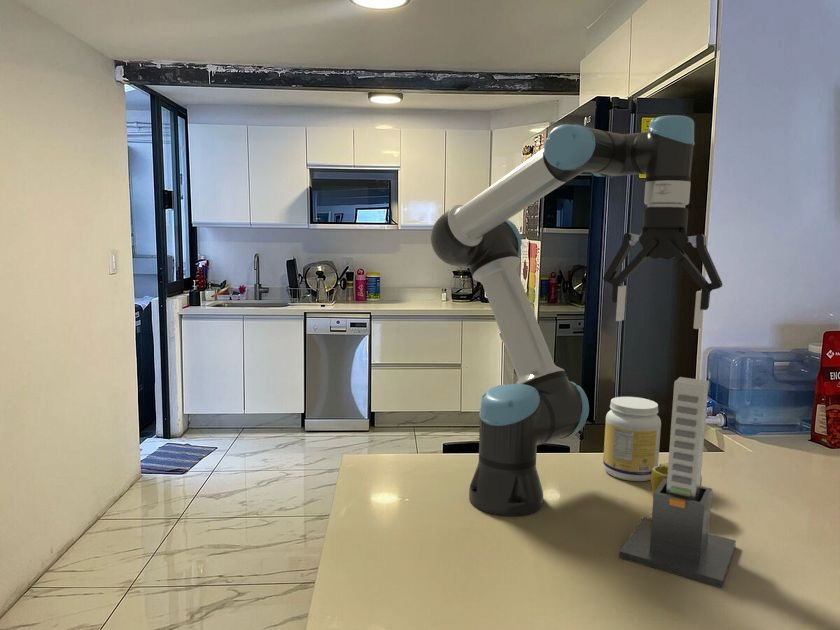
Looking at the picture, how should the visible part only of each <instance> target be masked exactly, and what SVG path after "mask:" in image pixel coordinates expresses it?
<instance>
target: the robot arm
mask: <svg viewBox="0 0 840 630" xmlns="http://www.w3.org/2000/svg"><path fill="white" fill-rule="evenodd" d="M648 126H649V127H648V130H647V131H642V132H635V133H617V132H612V131H605V130H602V129H601V130H600V129H596V128H592V127H589V126H584V125H582V124H581V125H580V124H577V123H576V124H566V123H565V124H560V125H557V126H556V127H554V128H553V129H552V130H550V132H549V135H548V137H546V139H545V142H544V147H543V148H542V149H541V150H538V152H537V153H535V154H533V155H532V156H531V157H530V158H528V159H527V160H525V161H524V162H522V163H521V164H520V165H518V166H517V167H515V168H514V169H513V170H511V171H510V172H508V173H507V174H505V175H504V176H502V177H501V178H500V179H499V180H497V181H495V183H493V184H492V185H490V186H489V187H487V188H486V189H485V190H483V191H482V192H480V193H479V194H478V195H475V197H472V199H470V200H469V201H467V202H466V203H465V204H456V205H453V207H451V208H450V209H448V210H446V211H445V212H444V213H443V214H441V215H440V217H438V219H437V220H436V222H435V223H434V225H433V227H432V228H431V229H432V230H431V234H430V243H431V247H432V250H433V252H434V254H435V255H436V256H437V257H438V259H440V260H441V261H442V262H444V263H445V264H448V265H450V266H454V267H468V268H469V271H470V273H471V276H472V279H473V280H474V281H475V282H479V283H481V284H482V286H483V290H484V293H485V295H486V298H487V300H488V303H489V306H490V308H491V311H492V313H493V316H494V319H495V321H496V323H497V326H498V330H499V331H500V335H501V337H502V339H503V342H504V345H505V347H506V350H507V353H508V356H509V358H510V361H511V363H512V365H513V368H514V371H515V374H516V377H517V381H516V383H511V384H507V383H506V384H505V383H504V384H499V385H495V386H492V387H490V388H489V389H486V390H485V392H484V393H483V394H482V397H481V399H480V408H479V411H478V412H479V413H478V415H479V430H478V431H479V433H478V434H479V439H478V440H479V443H478V463H477V466H476V468H475V471H474V474H473V477H472V479H471V482H470V484H469V489H468V500H469V502H470V503H471V504H472V505H473V506H474V507H475V508H477V509H479V510H481V511H482V512H486V513H489V514H493V515H496V516H497V515H499V516H506V517H507V516H508V517H519V516H526V515H527V516H528V515H530V514H533V513H536V512H538V511H539V510H541V508H542V507H543V505H544V491H543V487H542V483H541V480H540V476H539V473H538V470H537V447H538V446H540V445H543V444H547V443H550V442H553V441H557V440H562V439H566V438H569V437H571V436H573V435H574V434H576V433H578V432H579V431H581V430H582V429H583V427H584V426H585V425H586V423H587V419H588V417H589V412H590V405H589V400H588V397H587V394H586V393H585V390H584V389H583V388H582V386H580V385H578V384H576V382H574V381H570V380H569V378H568V375H567V373H566V370H565V369H564V368H561V367H559V366H557V365H556V364H555V362H554V360H553V357H552V355H551V351H550V350H549V349H550V348H549V347H548V345H547V342H546V340H545V338H544V334H543V332H542V330H541V327H540V324H539V323H538V320H537V316H536V315H535V312H534V310H533V307H532V304H531V303H530V300H529V296H528V295H527V292H526V290H525V287H524V284H523V282H522V280H521V277H520V274H519V272H518V267H519V265H520V263H521V260H520V255H521V253H522V248H521V247H522V244H523V242H522V240H523V239H522V236H521V233H520V230H519V229H518V227H517V226H516V225H515V224H514V222H512V221H511V220H509V219H512V217H514V216H515V215H517V214H520V212H522V211H523V210H525V209H526V208H528V207H529V206H531V205H532V204H534V203H536V202H538V201H539V200H541V199H542V198H543V197H545V196H547V195H548V194H549V193H551V192H553V191H554V190H556V189H558V188H560V187H561V186H563V185H564V184H565V183H568V182H570V180H572V179H574V178H576V177H577V176H578V175H580V174H582V173H591V174H592V175H593V176H595V177H604V178H605V177H607V178H614V177H620V176H621V177H622V176H632V175H645V182H644V183H645V184H644V185H645V187H644V201H643V203H644V205H645V206H646V207H645V208H644V209H643V212H642V215H643V216H642V227H641V232H640V234H635V233H632V232H626V233H624V234H623V236H622V237H623V238H622V243H621V246H620V248H619V250H617V253H616V254H615V256H614V259H612V262H611V263H610V264H609V266H608V269H607V270H606V272H605V273H604V275H603V278H602V280H603V282H607V283H609V284H611V286H612V296H611V301H612V303H616V313H615V322H622V321H625V312H626V311H625V307H626V293H627V285H623V284H624V283H625V281H626V280H627V279H628V278H630V276H631V275H632V274H633V273H634V272H636V270H637V269H638V268H639V267H640V266H642V264H643V263H644V262H645V261H646V260H647V259H648V258H651V259H656V260H657V259H664V260H673V259H676V260H677V261H678V262H679V263H680V264H681V266H682V267H683V268H684V270H685V271H686V272H687V273H688V275H689V276H690V277H691V278H692V280H693V282H695V284H696V285H697V286H698V287H699V289H700V290H697V291H696V292H695V302H694V303H695V305H694V317H693V329H695V330H698V329H700V328H701V327H702V317H703V316H702V315H703V311H706V310H708V309H709V308H710V300H711V299H710V298H711V292H712V291H713V290H717V289H721V288H722V287H723V284H724V283H723V282H722V279H721V278H720V275H719V273H718V270H717V269H716V266H715V263H714V262H713V259H712V257H711V254H710V252H709V251H708V248H707V237H706V235H705V234H697V235H691V236H690V235H689V234H688V222H689V221H688V220H689V209H688V207H686V206H687V205H689V204H690V198H691V197H690V195H691V185H692V184H691V183H692V182H691V179H692V176H691V175H692V167H693V166H692V165H693V157H694V146H695V144H696V142H695V121H694V119H692V118H691V117H689V116H686V115H663V116H658V117H654V118H652V119H651V120H650V121H649V125H648ZM637 242H639V244H640V246H641V247H642V249H641V250H640V251H639V252H638V254H637V255H636V256H635V257H634V259H632V260H631V261H630V262H629V263H628V264H627V265H626V266H625V268H623V270H622V271H621V272H620V273H618V272H619V270H620V268H621V266H622V264H623V263H624V261H625V260H626V257H627V256H628V254H629V253H630V251H631V249H632V247H633V246H635V245H636V243H637ZM689 243H691V246H692V247H693V248H695V249H696V251H697V254H698V256H699V258H700V260H701V262H702V265H703V267H704V270H705V272H706V274H707V276H708V279H709V281H710V282H708V281H707V279H706V278H705V277H704V275H703V274H702V273H701V271H699V269H698V268H697V267H696V265H695V264H694V263H693V262H692V261H691V259H690V258H689V255H688V254H686V252H685V251H684V249H685V247H686V246H687V245H688V244H689ZM617 273H618V274H617ZM616 274H617V276H616Z"/></svg>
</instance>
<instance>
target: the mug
mask: <svg viewBox="0 0 840 630" xmlns="http://www.w3.org/2000/svg"><path fill="white" fill-rule="evenodd" d="M667 475H668V463H667V462H665V463H660V464H658V466H657V467H654V468H653V469H652V473H651V480H650V481H651V483H650V484H651V493H652V496H653V495H654V492H655V490H656V489H657V488H658V486H659V485H660V483H661V482H662V480H663V479H664V478H665V479H667ZM702 478H703V477H702V475H701V483H700V486H702Z"/></svg>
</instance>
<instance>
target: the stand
mask: <svg viewBox="0 0 840 630" xmlns="http://www.w3.org/2000/svg"><path fill="white" fill-rule="evenodd" d="M666 489H667V479H665V478H664V479H663V480H662V482H661V483H660V485H659V486H658V488H657V489H656V490H655V492H654V495H653V494H652V509H651V510H652V511H651V512H652V513H651V518H649V517H646V516H642V518H641V519H640V520H639V522H638V524H637V525H636V527H635V528H634V530H633V531H632V533H631V534H630V536H629V537H628V539H627V540H626V542H625V543H624V544H623V546H622V547H621V549H620V551H619V559H623V560H626V561H629V562H632V563H635V564H638V565H642V566H646V567H648V568H652V569H656V570H660V571H663V572H666V573H670V574H673V575H676V576H681V577H683V578H687V579H690V580H693V581H697V582H700V583H704V584H706V585H710V586H713V587H716V588H717V587H718V588H720V589H723V587H724V584H725V581H726V578H727V575H728V571H729V567H730V564H731V562H732V558H733V554H734V552H735V548H736V540H735V539H732V538H728V537H724V536H720V535H716V534H712V533H709V531H710V529H709V528H710V522H711V521H710V519H711V518H710V517H711V508H712V507H711V505H712V493H713V488H710V487H706V486H702V485H701V486H700V495H699V502H698V501H694V500H690V499H685V498H681V497H677V496H672V495H668V494H666Z"/></svg>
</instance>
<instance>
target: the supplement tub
mask: <svg viewBox="0 0 840 630" xmlns="http://www.w3.org/2000/svg"><path fill="white" fill-rule="evenodd" d="M609 408H610V410H609V411H607V413H606V415H605V427H604V445H603V461H602V465H603V469H604V471H605V472H606V473H607V474H608V475H611V476H612V477H614V478H617V479H621V480H624V481H629V482H630V481H631V482H647V481H651V473H652V469H653V468H654V467H657V466H659V460H660V459H659V458H660V456H659V455H660V444H661V443H660V441H661V430H662V420H661V418H660V416H659V415H658V413H659V404H658V403H657V402H656V401H654V400H651V399H647V398H643V397H637V396H616V397H613V398H611V400H610V405H609Z"/></svg>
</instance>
